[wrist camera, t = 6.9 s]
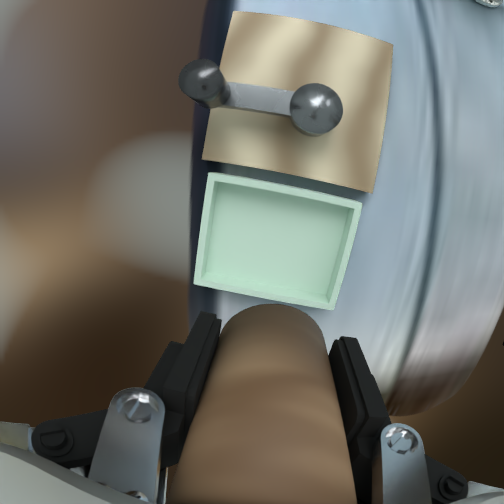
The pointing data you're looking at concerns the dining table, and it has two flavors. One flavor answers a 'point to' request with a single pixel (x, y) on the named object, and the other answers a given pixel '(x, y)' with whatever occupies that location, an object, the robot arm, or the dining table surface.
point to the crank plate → (291, 78)
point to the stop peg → (267, 418)
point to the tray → (274, 240)
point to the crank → (263, 98)
